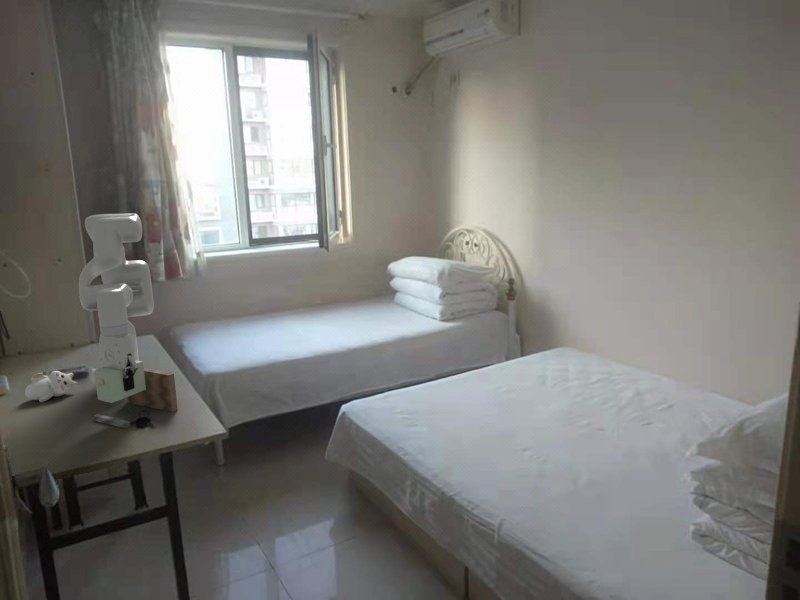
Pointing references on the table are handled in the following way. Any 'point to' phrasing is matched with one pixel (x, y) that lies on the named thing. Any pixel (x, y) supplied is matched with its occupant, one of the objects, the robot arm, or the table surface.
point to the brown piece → (150, 396)
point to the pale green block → (117, 383)
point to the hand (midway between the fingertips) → (121, 387)
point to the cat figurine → (49, 385)
